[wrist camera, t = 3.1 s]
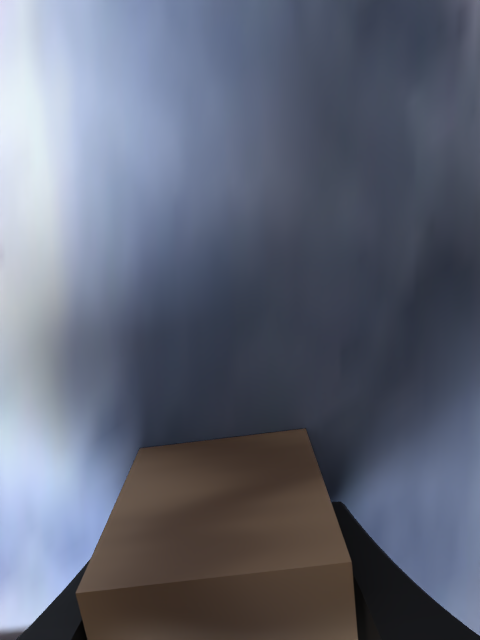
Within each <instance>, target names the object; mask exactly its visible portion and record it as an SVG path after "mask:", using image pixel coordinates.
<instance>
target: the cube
mask: <svg viewBox="0 0 480 640" xmlns="http://www.w3.org/2000/svg"><path fill="white" fill-rule="evenodd" d="M76 597H77V601H78V605H79V609H80V613H81V617H82V620H83V624H84V628H85V632H86V636H87V640H358V634H357V621H356V609H355V596H354V584H353V571H352V561H351V558H350V555H349V553H348V550H347V547H346V544H345V541H344V538H343V535H342V532H341V529H340V526H339V524H338V521H337V518H336V515H335V512H334V509H333V506H332V503H331V500H330V498H329V495H328V492H327V489H326V486H325V483H324V480H323V477H322V474H321V471H320V469H319V466H318V463H317V460H316V457H315V454H314V451H313V448H312V445H311V443H310V440H309V437H308V434H307V431H306V428H305V429H297V430H288V431H280V432H272V433H263V434H255V435H247V436H239V437H230V438H222V439H214V440H205V441H197V442H189V443H180V444H172V445H164V446H155V447H147V448H140V449H139V451H138V453H137V455H136V458H135V460H134V462H133V464H132V467H131V469H130V471H129V474H128V476H127V478H126V480H125V483H124V485H123V487H122V489H121V492H120V494H119V496H118V498H117V501H116V503H115V505H114V507H113V510H112V512H111V514H110V516H109V519H108V521H107V523H106V525H105V528H104V530H103V532H102V535H101V537H100V539H99V541H98V544H97V546H96V548H95V550H94V553H93V555H92V557H91V559H90V562H89V564H88V566H87V568H86V571H85V573H84V575H83V577H82V580H81V582H80V584H79V586H78V589H77V591H76Z"/></svg>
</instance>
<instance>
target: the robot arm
mask: <svg viewBox="0 0 480 640" xmlns="http://www.w3.org/2000/svg"><path fill="white" fill-rule="evenodd" d="M332 506H333V509H334V512H335V515H336V518H337V521H338V524H339V526H340V529H341V532H342V535H343V538H344V541H345V544H346V547H347V550H348V553H349V555H350V558H351V561H352V571H353V584H354V596H355V609H356V621H357V634H358V640H480V636H479V635H478V634H476V633H475V632H473V631H472V630H471V629H469V628H468V627H467V626H465V625H464V624H463V623H462V622H460V621H459V620H458V619H457V618H455V617H454V616H453V615H451V614H450V613H449V612H448V611H447V610H445V609H444V608H443V607H442V606H441V605H439V604H438V603H437V602H436V601H435V600H434V599H432V598H431V597H430V596H429V595H428V594H427V593H426V592H424V591H423V590H422V589H421V588H420V587H419V586H418V585H417V584H416V583H415V582H414V581H413V580H412V579H410V578H409V577H408V576H407V575H406V574H405V573H404V572H403V571H402V570H401V569H400V568H399V567H398V566H397V565H396V564H395V563H394V562H393V561H392V560H391V559H390V558H389V557H388V556H387V554H386V553H385V552H384V551H383V550H382V549H381V548H380V547H379V546H378V545H377V544H376V543H375V542H374V540H373V539H372V538H371V537H370V536H369V535H368V534H367V532H366V531H365V530H364V529H363V528H362V526H361V525H360V524H359V523H358V522H357V520H356V519H355V518H354V517H353V515H352V514H351V513H350V511H349V510H348V509H347V507H346V506H345V505H344V504H343V503H342V502H332ZM89 562H90V560H89V561H88V562H87V564H86V565H85V566H84V567H83V568H82V570H81V571H80V572H79V573H78V574H77V575H76V577H75V578H74V579H73V580H72V581H71V582H70V583H69V585H68V586H67V587H66V588H65V589H64V590H63V591H62V593H61V594H60V595H59V596H58V597H57V598H56V599H55V600H54V601H53V602H52V603H51V604H50V605H49V606H48V608H47V609H46V610H45V611H44V612H43V613H42V614H41V615H40V616H39V617H38V618H37V619H36V620H35V622H34V623H33V624H32V625H31V626H30V627H29V628H28V629H27V630H26V631H25V632H24V633H23V634H22V635H20V636H19V637H18V638H17V639H16V640H87V636H86V632H85V628H84V624H83V620H82V617H81V613H80V609H79V605H78V601H77V597H76V591H77V589H78V586H79V584H80V582H81V580H82V577H83V575H84V573H85V571H86V568H87V566H88V564H89Z"/></svg>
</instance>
